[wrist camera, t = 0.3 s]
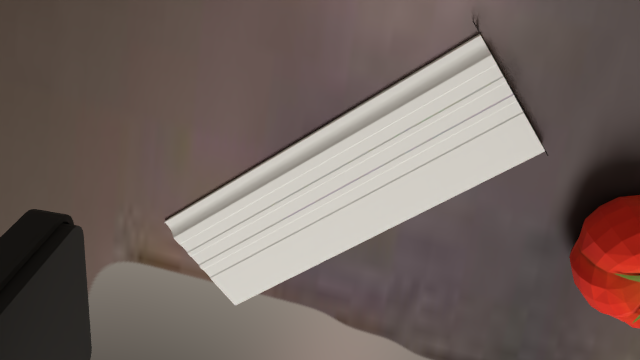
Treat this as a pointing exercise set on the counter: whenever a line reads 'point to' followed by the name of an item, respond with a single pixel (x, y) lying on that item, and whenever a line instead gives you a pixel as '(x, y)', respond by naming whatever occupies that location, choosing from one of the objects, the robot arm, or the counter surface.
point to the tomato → (611, 259)
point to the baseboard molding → (361, 174)
